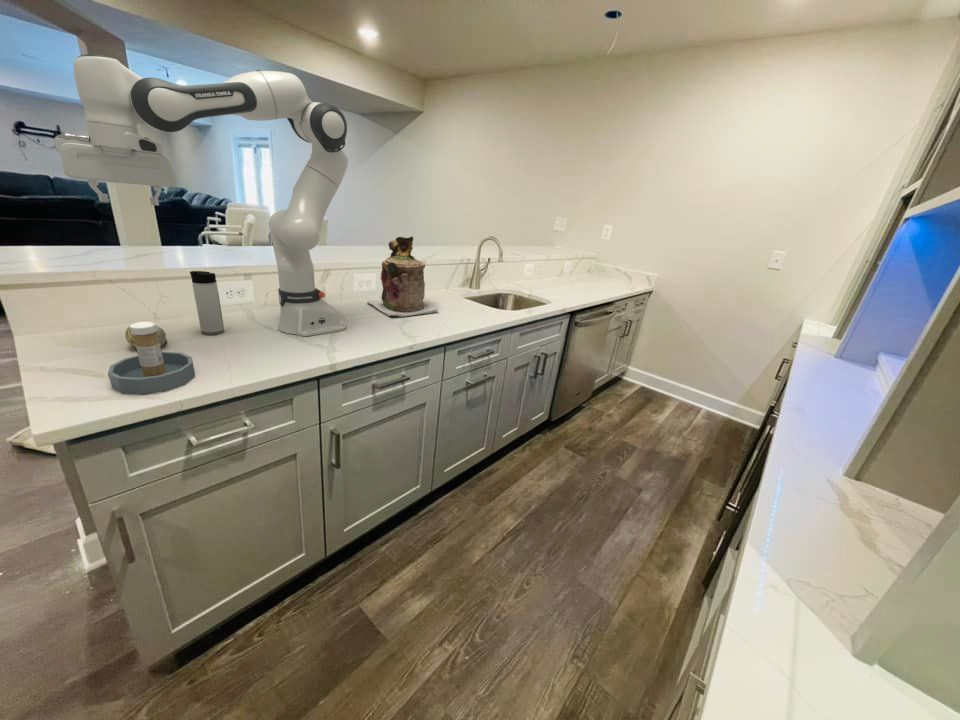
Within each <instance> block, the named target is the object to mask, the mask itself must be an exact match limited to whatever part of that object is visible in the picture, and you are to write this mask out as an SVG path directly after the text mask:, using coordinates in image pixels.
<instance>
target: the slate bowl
mask: <svg viewBox="0 0 960 720" xmlns="http://www.w3.org/2000/svg"><path fill="white" fill-rule="evenodd" d="M161 352H162V356H163V361H164V366H165V370H166V374H163V375H159V376H151V377H143V371H142V367H141V365H140V361H139V357H138V354H136V355H133V356H130V357H125V358H123V359H120V360H119V361H117V362H114V363H113V364H111V365H109V369H108V371H107V376H108V380H109V381H110V385H111V388H112V390H114V391H116V392H118V393H120V394H121V395H135V396H136V395H138V396H145V395H151V394H157V393H158V394H159V393H166V392H169V391H172V390H174V389H178V388H180V387H183V386H186V385H187V384H188V383H189V382H191V381H192V380H193V379H195V378H196V376H195V375H196V373H195V366H194V361H193V356H190V355H188V354H185V353H183V352H177V351H161Z"/></svg>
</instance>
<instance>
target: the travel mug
mask: <svg viewBox="0 0 960 720" xmlns="http://www.w3.org/2000/svg"><path fill="white" fill-rule="evenodd" d="M189 275H190V276H191V277H190V278H191V284H192V289H193V296H194V299H195V300H194V301H195V305H196V311H197V317H198V321H199V326H200V331H201V334H203V335H205V336H217V335H220V334H223V333H224V332H225V326H224V319H223V313H222V307H221V301H220V300H221V299H220V295H219V289H218V282H217V277H216V273H214V272H211V271H204V270H203V271H202V270H192V271H189Z"/></svg>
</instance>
